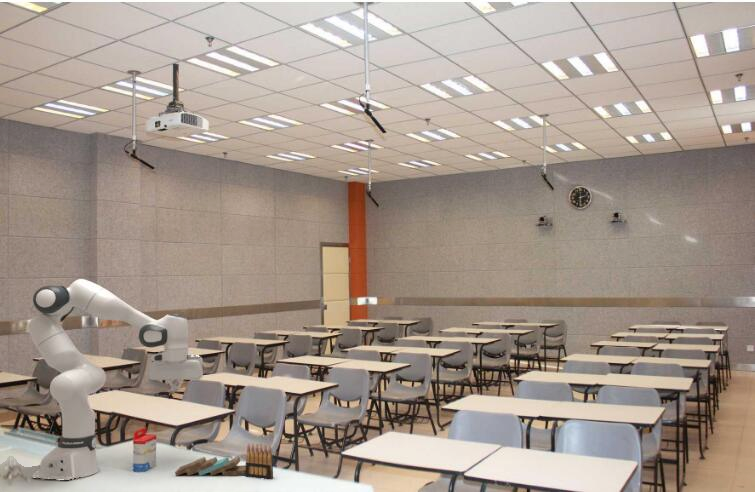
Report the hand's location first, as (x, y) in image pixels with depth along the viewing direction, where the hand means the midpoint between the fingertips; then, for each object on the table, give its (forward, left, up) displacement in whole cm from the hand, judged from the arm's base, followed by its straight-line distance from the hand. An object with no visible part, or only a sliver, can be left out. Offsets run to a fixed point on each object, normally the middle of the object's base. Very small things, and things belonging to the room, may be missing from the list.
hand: (176, 391), depth 245 cm
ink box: (-11, -3, -29) cm, 31 cm away
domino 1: (+4, -10, -28) cm, 30 cm away
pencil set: (+35, -15, -29) cm, 48 cm away
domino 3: (+13, -10, -28) cm, 32 cm away
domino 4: (+17, -10, -28) cm, 34 cm away
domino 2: (+8, -10, -28) cm, 31 cm away
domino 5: (+21, -10, -28) cm, 36 cm away
